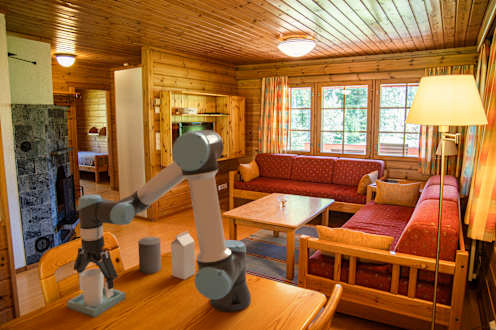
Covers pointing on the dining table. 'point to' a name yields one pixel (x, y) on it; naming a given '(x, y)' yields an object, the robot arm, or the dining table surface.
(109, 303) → the tray
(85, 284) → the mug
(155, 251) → the dark gray cylinder
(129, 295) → the dining table surface
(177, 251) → the milk carton
